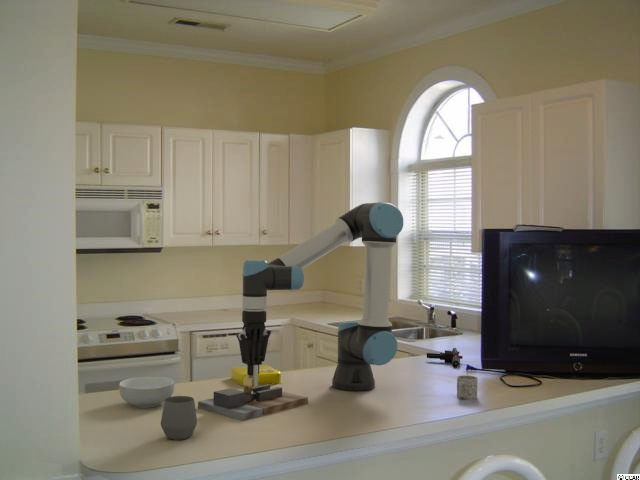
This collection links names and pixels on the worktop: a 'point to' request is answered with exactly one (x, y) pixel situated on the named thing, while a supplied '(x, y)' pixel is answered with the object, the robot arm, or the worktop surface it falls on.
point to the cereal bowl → (146, 390)
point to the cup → (179, 417)
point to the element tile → (264, 377)
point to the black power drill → (447, 357)
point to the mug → (467, 387)
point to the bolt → (249, 389)
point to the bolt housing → (237, 398)
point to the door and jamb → (256, 406)
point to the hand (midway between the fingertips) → (253, 385)
